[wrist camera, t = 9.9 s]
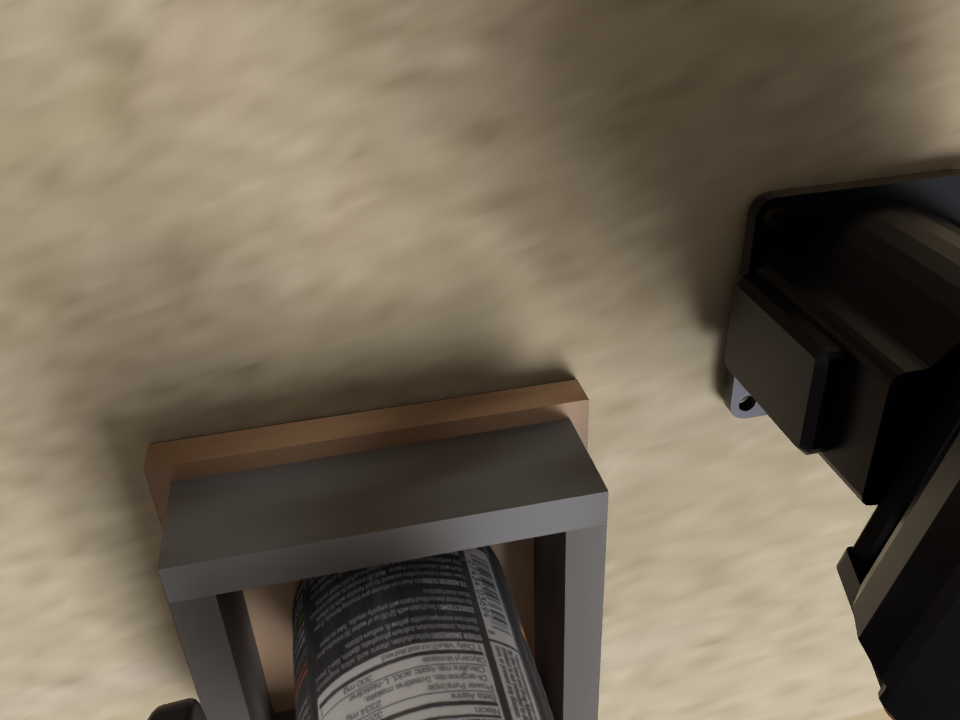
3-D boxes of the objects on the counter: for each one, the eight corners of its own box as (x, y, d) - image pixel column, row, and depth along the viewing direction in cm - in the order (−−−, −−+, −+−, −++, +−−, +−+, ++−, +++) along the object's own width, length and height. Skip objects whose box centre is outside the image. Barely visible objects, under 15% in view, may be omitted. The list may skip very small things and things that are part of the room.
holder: (577, 379, 23) (630, 470, 20) (571, 657, 29) (611, 765, 25) (148, 444, 21) (127, 556, 18) (232, 727, 27) (228, 852, 24)
